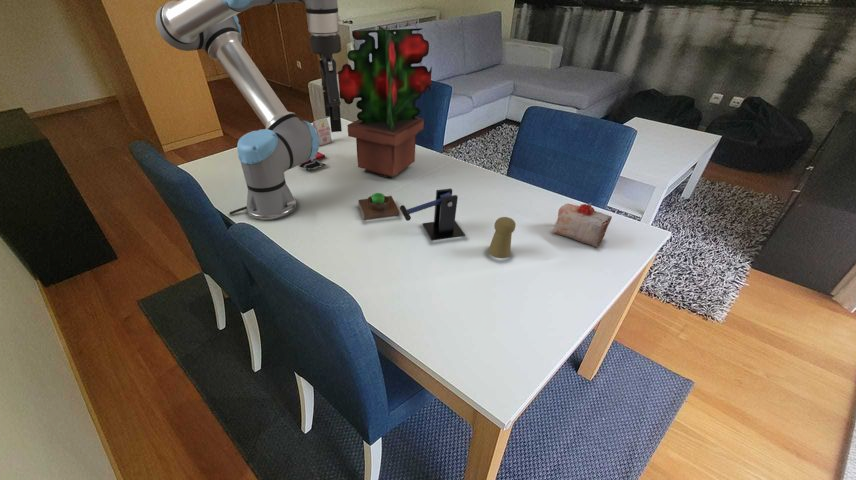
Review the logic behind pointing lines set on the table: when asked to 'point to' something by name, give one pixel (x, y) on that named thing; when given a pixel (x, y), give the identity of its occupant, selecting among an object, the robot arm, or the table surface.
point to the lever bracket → (444, 218)
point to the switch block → (378, 208)
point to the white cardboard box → (322, 131)
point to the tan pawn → (502, 237)
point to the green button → (378, 198)
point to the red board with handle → (313, 162)
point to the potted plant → (386, 97)
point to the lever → (420, 207)
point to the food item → (582, 223)
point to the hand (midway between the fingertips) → (333, 123)
